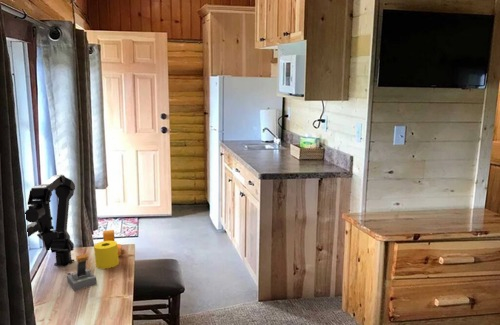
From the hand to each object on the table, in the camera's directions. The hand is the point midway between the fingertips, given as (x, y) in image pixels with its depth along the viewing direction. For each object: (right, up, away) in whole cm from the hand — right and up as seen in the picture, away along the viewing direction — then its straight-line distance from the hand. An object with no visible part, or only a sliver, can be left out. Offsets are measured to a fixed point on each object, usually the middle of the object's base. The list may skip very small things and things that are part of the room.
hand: (47, 250), depth 194 cm
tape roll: (+21, -9, +14) cm, 27 cm away
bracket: (+20, -7, +26) cm, 33 cm away
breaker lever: (+17, -9, -6) cm, 20 cm away
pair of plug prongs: (+12, -12, +1) cm, 17 cm away
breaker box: (+17, -13, -6) cm, 22 cm away
